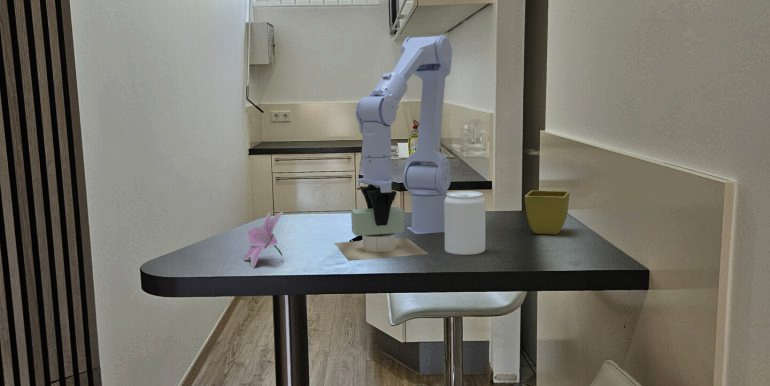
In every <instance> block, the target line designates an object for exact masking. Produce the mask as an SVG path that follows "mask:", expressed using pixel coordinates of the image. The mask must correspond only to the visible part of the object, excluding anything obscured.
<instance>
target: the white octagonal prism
mask: <svg viewBox="0 0 770 386" xmlns="http://www.w3.org/2000/svg"><path fill="white" fill-rule="evenodd" d="M361 236H362V241H363V249H364V250H365V251H370V252H386V251H391V250H394V249H396V238H397V233H389V234H374V235H361Z"/></svg>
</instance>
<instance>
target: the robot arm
mask: <svg viewBox="0 0 770 386" xmlns="http://www.w3.org/2000/svg"><path fill="white" fill-rule="evenodd" d="M400 49H401V50H400V51H401V52H400V53H401V56H400V58H399V60H398V61H397V63H396V65H395V66H394V68H393V71H392V72H391V71H389V72H385V73H384V74H383V75H382V77H381V79H380V80H379V82H378V83H377V84H376V85H375V87H374V88H373V90H372V91H371V92H370V94H369V95H368V96H364V97H362V98H361V99H360V100H359V101H357V102H358V103H357V104H356V110H355V118H356V121H357V122H358V126H359V129H358V130H359V133H360V134H361V135H362V166H363V168H362V169H363V176H362V178H357V183H359V184H366V185H367V184H368V185H367V186H362V187H360V191H361V193H362V195H363V197H364V200H365V202H366V206H367V209H371V208H373V211H374V218H375V222H376V225H377V226H383V225H387V223H388V218H389V213H390V208H391V207H392V204H393V202H394V199H395V198H396V196H397V191H396V190H392V184H393V182H394V178H393V171H392V169H393V166H392V132H391V131H392V125H393V123H394V122H395V121H396V119H397V118H396V117H397V112H398V109H399V103H400V101H401V100H402V98H403V97H404V96H405V94H406V93H407V90H408V81H409V80H410V78H411V77H412V76H413V75H415V76H416V77H418V78H420V80H421V81H422V86H421V99H420V100H421V101H420V112H419V120H418V121H419V122H418V134H417V144H416V145H417V147H416V150H415V151H414V152H412V153H411V154H410V155H409V156H407V157H406V164H405V168H404V170H403V172H402V183H403V186H404V188H405V189H406V190H407V191H408V194H409V195H410V194H411V195H410V197H411V200H410V201H411V202H410V203H411V206H410V207H411V226H407V227H406V228H407V229H408V230H409V231H411V232H412V233H414V234H415V235H419V234H421V235H422V234H431V233H432V234H434V233H445V222H444V200H445V198H446V197H447V193H448V192H447V191H448V190H449V188H450V185H451V182H452V181H451V180H452V174H451V168H450V167H451V165H450V160H449V159H448V157H446V156H445V155H444V154H443V153H442V152H441V151H440V146H441V134H442V133H441V132H442V122H443V111H444V99H445V87H446V86H445V85H446V77H448V76H450V74H451V69H452V60H453V47H452V44H451V41H450V39H449V38H448V37H447V36H446V35H445V34H441V35H433V36H420V37H419V36H417V37H416V36H415V37H412V36H408V37H406V38H405V39H404V41H403V43H402V44H401V48H400Z"/></svg>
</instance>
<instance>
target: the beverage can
mask: <svg viewBox="0 0 770 386" xmlns="http://www.w3.org/2000/svg"><path fill="white" fill-rule="evenodd" d="M446 193H447V197H446V198H445V200H444V222H445V232H444V251H445V252H446V253H449V254H452V255H463V256H464V255H465V256H467V255H468V256H469V255H470V256H471V255H478V254H481V253H484V252H485V251H486V199H485V198H484V196H483V195H484V193H483V192H479V191H471V190H460V191H459V190H458V191H450V192H446Z"/></svg>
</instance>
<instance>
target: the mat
mask: <svg viewBox="0 0 770 386" xmlns="http://www.w3.org/2000/svg"><path fill="white" fill-rule="evenodd" d="M333 244H334V245H335V246H336V247H337V249H338V250H339V251H340V252H341V254H342V255H343V256H344V258H346V260H347V261H348V262H350V261H351V262H353V261H362V260H374V259H389V258H398V257H399V258H400V257H410V256H413V257H414V256H422V255H424V256H425V255H429V253H428V252H427V251H425V250H423V249H422V248H421V247H420V246H419V245H417V244H416V243H414V242H413V241H412V240H410V239H409V238H408V237H396V249H394V250H391V251H386V252H370V251H365V250H364V249H363V240H356V241H341V242H334V243H333Z"/></svg>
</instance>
